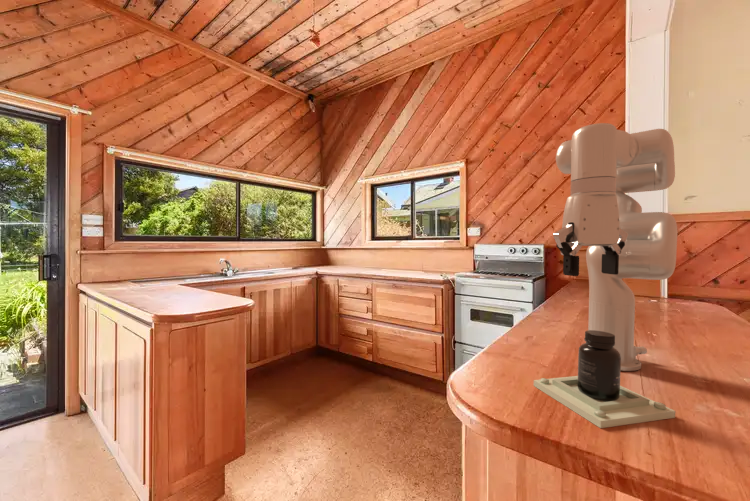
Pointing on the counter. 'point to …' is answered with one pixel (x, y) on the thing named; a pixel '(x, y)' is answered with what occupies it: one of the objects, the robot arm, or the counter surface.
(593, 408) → the seating plate
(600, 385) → the supplement bottle
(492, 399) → the counter surface
